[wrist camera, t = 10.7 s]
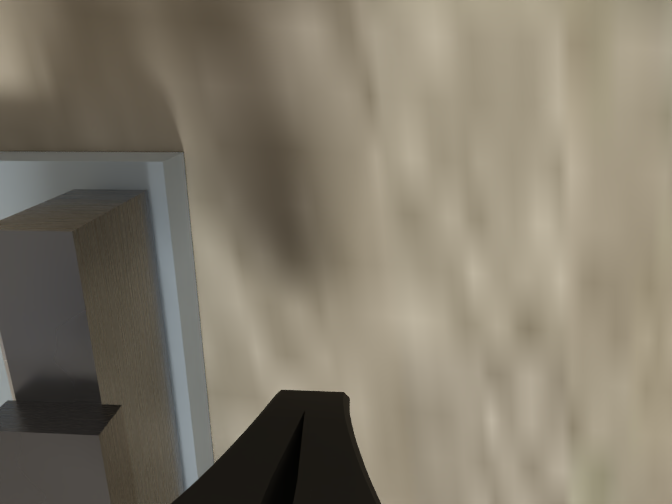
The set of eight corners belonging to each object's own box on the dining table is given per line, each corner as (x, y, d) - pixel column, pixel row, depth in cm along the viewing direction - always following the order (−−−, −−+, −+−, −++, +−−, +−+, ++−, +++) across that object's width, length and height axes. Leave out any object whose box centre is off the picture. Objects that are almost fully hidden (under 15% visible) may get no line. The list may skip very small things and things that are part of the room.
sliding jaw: (120, 540, 14) (36, 694, 11) (59, 189, 11) (-84, 246, 8) (204, 546, 14) (146, 703, 10) (164, 190, 11) (65, 249, 8)
